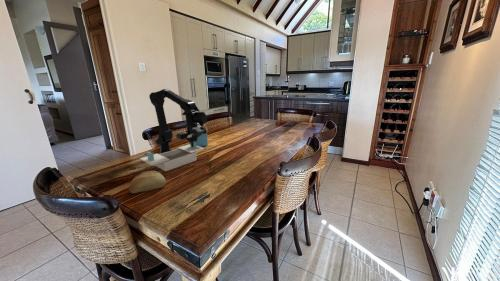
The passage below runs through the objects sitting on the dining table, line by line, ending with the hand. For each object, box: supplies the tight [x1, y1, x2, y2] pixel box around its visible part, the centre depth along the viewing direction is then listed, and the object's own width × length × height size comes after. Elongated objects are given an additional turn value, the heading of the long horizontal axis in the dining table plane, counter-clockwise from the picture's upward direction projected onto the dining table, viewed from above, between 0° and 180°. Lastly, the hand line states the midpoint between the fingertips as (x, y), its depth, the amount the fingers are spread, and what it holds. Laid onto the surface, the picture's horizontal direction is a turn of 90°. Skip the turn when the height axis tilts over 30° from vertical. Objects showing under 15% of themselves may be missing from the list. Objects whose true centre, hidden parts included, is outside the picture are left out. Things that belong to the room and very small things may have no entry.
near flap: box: [139, 151, 170, 166], centre depth 112 cm, size 14×10×4 cm, turn 49°
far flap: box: [177, 141, 205, 153], centre depth 129 cm, size 14×10×4 cm, turn 49°
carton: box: [154, 148, 198, 172], centre depth 122 cm, size 15×20×5 cm
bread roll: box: [128, 170, 167, 194], centre depth 92 cm, size 10×15×8 cm, turn 123°
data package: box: [196, 132, 209, 147], centre depth 151 cm, size 12×4×12 cm, turn 109°
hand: (193, 146), depth 131 cm, fingers closed on far flap
